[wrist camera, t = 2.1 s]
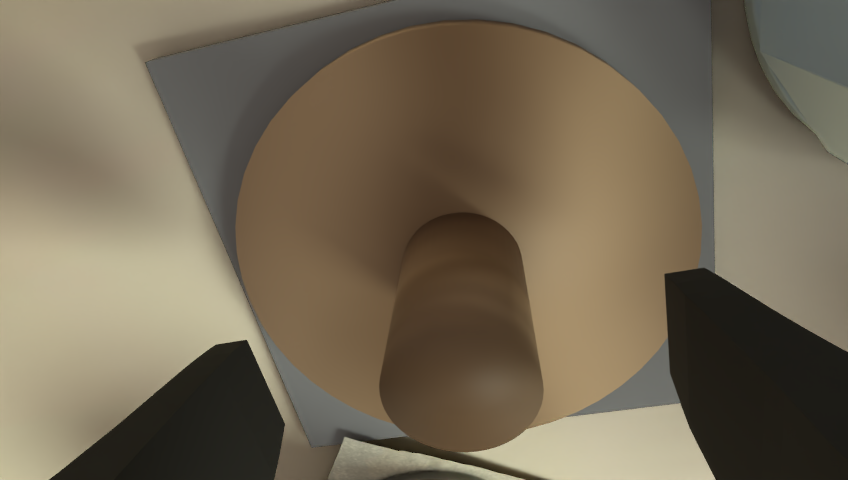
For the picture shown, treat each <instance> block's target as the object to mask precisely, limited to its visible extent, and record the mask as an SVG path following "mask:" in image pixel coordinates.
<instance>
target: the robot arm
mask: <svg viewBox="0 0 848 480" xmlns="http://www.w3.org/2000/svg"><path fill="white" fill-rule="evenodd" d="M664 278H665V296H666V313H667V331H668V348H669V366H670V375H671V378H672V380H673V383H674V386H675V389H676V392H677V395H678V397H679V400H680V403H681V406H682V408H683V411H684V414H685V416H686V419H687V422H688V424H689V427H690V429H691V431H692V433H693V435H694V437H695V439H696V441H697V443H698V445H699V447H700V449H701V451H702V453H703V455H704V457H705V459H706V461H707V463H708V465H709V467H710V469H711V471H712V473H713V475H714V477H715V479H716V480H848V352H846V351H844V350H843V349H841V348H839V347H837V346H835V345H833V344H832V343H830V342H828V341H826V340H824V339H823V338H821V337H819V336H817V335H815V334H814V333H812V332H810V331H808V330H807V329H805V328H803V327H801V326H800V325H798V324H796V323H795V322H793V321H791V320H790V319H788V318H786V317H784V316H783V315H781V314H779V313H778V312H776V311H774V310H773V309H771V308H769V307H768V306H766V305H765V304H763V303H761V302H760V301H758V300H757V299H755V298H753V297H752V296H750V295H748V294H747V293H745V292H744V291H742V290H740V289H739V288H737V287H736V286H734V285H732V284H731V283H729V282H728V281H726V280H725V279H723V278H721V277H720V276H718V275H716V274H715V273H713V272H711V271H710V270H708V269H706V268H698V269H691V270H685V271H679V272H672V273H666V274H664ZM284 426H285V423H284V421H283V419H282V417H281V415H280V412H279V410H278V408H277V406H276V403H275V401H274V399H273V397H272V395H271V392H270V390H269V388H268V386H267V383H266V381H265V379H264V377H263V375H262V372H261V370H260V368H259V366H258V364H257V361H256V359H255V357H254V355H253V352H252V350H251V348H250V346H249V344H248V341H247V340H243V341H237V342H230V343H224V344H218V345H215V346H213V347H212V348H210V349H209V350H208V351H206V352H205V353H203V354H202V355H201V356H200V357H198V358H197V359H196V360H194V361H193V362H192V363H191V364H189V365H188V366H187V367H186V368H185V369H183V370H182V371H181V372H180V373H179V374H177V375H176V376H175V377H174V378H173V379H171V380H170V381H169V382H168V383H167V384H166V385H164V386H163V387H162V388H161V389H160V390H159V391H157V392H156V393H155V394H154V395H153V396H151V397H150V398H149V399H148V400H147V401H146V402H144V403H143V404H142V405H141V406H140V407H139V408H137V409H136V410H135V411H134V412H133V413H131V414H130V415H129V416H128V417H127V418H126V419H124V420H123V421H122V422H121V423H120V424H118V425H117V426H116V427H115V428H114V429H112V430H111V431H110V432H109V433H107V434H106V435H105V436H104V437H102V438H101V439H100V440H99V441H97V442H96V443H95V444H94V445H92V446H91V447H90V448H89V449H87V450H86V451H85V452H84V453H82V454H81V455H80V456H79V457H77V458H76V459H75V460H74V461H72V462H71V463H70V464H69V465H67V466H66V467H65V468H64V469H62V470H61V471H60V472H59V473H57V474H56V475H55V476H53V477H52V478H51V479H49V480H274V478H275V473H276V468H277V464H278V459H279V454H280V449H281V443H282V437H283V432H284Z"/></svg>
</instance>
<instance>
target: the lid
mask: <svg viewBox="0 0 848 480" xmlns="http://www.w3.org/2000/svg"><path fill="white" fill-rule="evenodd" d="M235 230H236V247H237V256H238V261H239V266H240V271H241V276H242V280H243V283H244V286H245V288H246V291H247V294H248V297H249V300H250V302H251V304H252V306H253V308H254V310H255V312H256V314H257V316H258V318H259V320H260V322H261V324H262V326H263V327H264V329H265V330H266V332H267V333H268V334H269V336H270V337H271V339H272V340H273V342H274V343H275V345H276V346H277V347H278V348H279V349H280V351H281V352H282V353H283V354H284V355H285V356H286V357H287V359H288V360H289V361H290V362H291V363H292V364H293V365H294V366H295V367H296V368H297V369H298V370H299V371H300V372H302V373H303V374H304V375H305V376H306V377H307V378H308V379H309V380H310V381H312V382H313V383H314V384H316V385H317V386H319V387H320V388H321V389H323V390H324V391H326V392H327V393H328V394H330V395H331V396H333V397H334V398H336V399H338V400H340V401H342V402H343V403H345V404H347V405H349V406H350V407H352V408H354V409H356V410H359V411H361V412H363V413H365V414H368V415H370V416H372V417H374V418H377V419H380V420H383V421H386V422H389V423H392V424H395V425H396V426H397V427H398V428H399V429H400V430H401V431H402V432H404V433H405V434H406V435H408V436H409V437H411V438H412V439H414V440H416V441H418V442H420V443H422V444H425V445H427V446H430V447H433V448H436V449H441V450H445V451H453V452H474V451H481V450H487V449H490V448H494V447H497V446H500V445H502V444H505V443H507V442H509V441H511V440H512V439H514V438H516V437H517V436H518V435H520V434H521V433H522V432H524V431H525V430H526V429H528V428H532V427H536V426H539V425H543V424H546V423H550V422H553V421H556V420H558V419H561V418H563V417H566V416H568V415H571V414H574V413H576V412H578V411H580V410H582V409H584V408H586V407H588V406H590V405H591V404H593V403H595V402H597V401H599V400H601V399H602V398H604V397H605V396H607V395H608V394H610V393H611V392H613V391H614V390H616V389H617V388H619V387H620V386H621V385H623V384H624V383H625V382H626V381H627V380H629V379H630V378H631V377H632V376H633V375H634V374H636V373H637V372H638V371H639V370H640V369H641V368H642V367H643V366H644V365H645V364H646V363H647V362H648V361H649V360H650V359H651V358H652V356H653V355H654V354H655V353H656V352H657V351H658V350H659V348H660V347H661V346H662V344H663V343H664V342H665V340H666V339H667V337H668V331H667V313H666V296H665V278H664V274H666V273H672V272H679V271H685V270H691V269H698V264H699V259H700V255H701V238H702V220H701V210H700V201H699V195H698V191H697V188H696V184H695V180H694V177H693V173H692V169H691V167H690V165H689V162H688V160H687V158H686V156H685V154H684V151H683V149H682V147H681V145H680V142H679V141H678V139H677V137H676V136H675V134H674V133H673V131H672V130H671V128H670V127H669V125H668V124H667V122H666V121H665V119H664V118H663V116H662V115H661V114H660V113H659V111H658V110H657V109H656V108H655V107H654V106H653V105H652V104H651V103H650V101H649V100H648V99H647V98H646V97H645V96H644V95H643V94H642V93H641V92H640V90H638V89H637V88H636V87H635V86H634V85H633V84H632V83H631V82H630V81H628V80H627V79H626V78H625V77H624V76H622V75H621V74H620V73H619V72H617V71H616V70H615V69H614V68H613V67H611V66H610V65H609V64H608V63H606V62H605V61H604V60H602V59H600V58H599V57H597V56H595V55H594V54H592V53H590V52H588V51H587V50H585V49H583V48H582V47H580V46H578V45H577V44H574V43H572V42H569V41H567V40H565V39H562V38H560V37H557V36H555V35H552V34H550V33H548V32H545V31H541V30H537V29H533V28H529V27H525V26H522V25H518V24H514V23H506V22H497V21H488V20H479V19H476V20H443V21H437V22H431V23H426V24H420V25H414V26H409V27H406V28H403V29H400V30H396V31H393V32H390V33H387V34H384V35H380V36H378V37H376V38H374V39H372V40H369V41H367V42H365V43H363V44H361V45H359V46H357V47H355V48H353V49H351V50H349V51H347V52H346V53H344V54H343V55H341V56H340V57H338V58H337V59H335V60H334V61H332V62H331V63H329V64H328V65H326V66H325V67H323V68H322V69H321V70H320V71H319V72H318V73H317V74H315V75H314V76H313V77H312V78H311V79H310V80H309V81H308V82H306V83H305V84H304V85H303V86H302V87H301V88H300V89H299V90H298V91H297V92H296V93H294V94H293V95H292V96H291V97H290V98H289V100H288V101H287V102H286V103H285V104H284V106H283V107H282V108H281V109H280V110H279V112H278V113H277V114H276V115H275V116H274V118H273V119H272V120H271V121H270V123H269V125H268V126H267V128H266V130H265V131H264V133H263V135H262V136H261V138H260V140H259V141H258V143H257V145H256V146H255V148H254V151H253V153H252V156H251V158H250V161H249V163H248V165H247V168H246V170H245V173H244V177H243V181H242V185H241V189H240V193H239V197H238V203H237V214H236V225H235Z"/></svg>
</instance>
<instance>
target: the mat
mask: <svg viewBox="0 0 848 480" xmlns="http://www.w3.org/2000/svg"><path fill="white" fill-rule="evenodd" d="M476 19H479V20H488V21H497V22H506V23H514V24H518V25H522V26H525V27H529V28H533V29H537V30H541V31H545V32H548V33H550V34H552V35H555V36H557V37H560V38H562V39H565V40H567V41H569V42H572V43H574V44H577V45H578V46H580V47H582V48H583V49H585V50H587V51H588V52H590V53H592V54H594V55H595V56H597V57H599V58H600V59H602V60H604V61H605V62H606V63H608V64H609V65H610V66H611V67H613V68H614V69H615V70H616V71H617V72H619V73H620V74H621V75H622V76H624V77H625V78H626V79H627V80H628V81H630V82H631V83H632V84H633V85H634V86H635V87H636V88H637V89H638V90H640V92H641V93H642V94H643V95H644V96H645V97H646V98H647V99H648V100H649V101H650V103H651V104H652V105H653V106H654V107H655V108H656V109H657V110H658V111H659V113H660V114H661V115H662V116H663V118H664V119H665V121H666V122H667V124H668V125H669V127H670V128H671V130H672V131H673V133H674V134H675V136H676V137H677V139H678V141H679V142H680V145H681V147H682V149H683V151H684V154H685V156H686V158H687V160H688V162H689V165H690V167H691V169H692V173H693V177H694V180H695V184H696V188H697V191H698V195H699V201H700V210H701V220H702V238H701V255H700V259H699V264H698V268H706V269H708V270H710V271H711V272H713V273H715V255H714V181H713V108H712V35H711V0H391V1H387V2H383V3H379V4H375V5H371V6H367V7H363V8H359V9H355V10H351V11H346V12H342V13H338V14H334V15H330V16H326V17H322V18H318V19H314V20H310V21H306V22H302V23H298V24H294V25H290V26H286V27H282V28H277V29H273V30H269V31H265V32H261V33H257V34H253V35H249V36H245V37H241V38H237V39H233V40H229V41H225V42H221V43H217V44H212V45H208V46H204V47H200V48H196V49H192V50H188V51H184V52H180V53H176V54H172V55H168V56H164V57H160V58H156V59H153V60H150V61H148V62H145V63H146V66H147V68H148V70H149V73H150V75H151V77H152V80H153V82H154V84H155V87H156V89H157V91H158V93H159V96H160V98H161V100H162V103H163V105H164V107H165V110H166V112H167V114H168V117H169V119H170V121H171V124H172V126H173V128H174V130H175V133H176V135H177V137H178V140H179V142H180V144H181V147H182V149H183V151H184V154H185V156H186V158H187V161H188V163H189V165H190V167H191V170H192V172H193V174H194V177H195V179H196V181H197V184H198V186H199V188H200V191H201V193H202V195H203V198H204V200H205V202H206V204H207V207H208V209H209V211H210V214H211V216H212V218H213V221H214V223H215V225H216V228H217V230H218V232H219V235H220V237H221V239H222V241H223V244H224V246H225V248H226V251H227V253H228V255H229V258H230V260H231V262H232V265H233V267H234V269H235V272H236V274H237V276H238V278H239V281H240V283H241V285H242V288H243V290H244V292H245V295H246V297H247V299H248V302H249V304H250V306H251V309H252V311H253V313H254V315H255V318H256V320H257V322H258V325H259V327H260V329H261V332H262V334H263V336H264V339H265V341H266V343H267V346H268V348H269V350H270V352H271V355H272V357H273V359H274V362H275V364H276V366H277V369H278V371H279V373H280V376H281V378H282V380H283V383H284V385H285V387H286V389H287V392H288V394H289V396H290V399H291V401H292V403H293V406H294V408H295V410H296V413H297V415H298V417H299V420H300V422H301V424H302V426H303V429H304V431H305V433H306V436H307V438H308V440H309V443H310V445H311V447H312V448H313V447H322V446H330V445H338V444H342V443H343V440H344V438H345V437H347V438H351V439H354V440H357V441H361V442H363V441H371V440H379V439H388V438H396V437H404V436H408V435H406V434H405V433H404V432H402V431H401V430H400V429H399V428H398V427H397V426H396V425H395V424H392V423H389V422H386V421H383V420H380V419H377V418H374V417H372V416H370V415H368V414H365V413H363V412H361V411H359V410H356V409H354V408H352V407H350V406H349V405H347V404H345V403H343V402H342V401H340V400H338V399H336V398H334V397H333V396H331V395H330V394H328V393H327V392H326V391H324V390H323V389H321V388H320V387H319V386H317V385H316V384H314V383H313V382H312V381H310V380H309V379H308V378H307V377H306V376H305V375H304V374H303V373H302V372H300V371H299V370H298V369H297V368H296V367H295V366H294V365H293V364H292V363H291V362H290V361H289V360H288V359H287V357H286V356H285V355H284V354H283V353H282V352H281V351H280V349H279V348H278V347H277V346H276V345H275V343H274V342H273V340H272V339H271V337H270V336H269V334H268V333H267V332H266V330H265V329H264V327H263V326H262V324H261V322H260V320H259V318H258V316H257V314H256V312H255V310H254V308H253V306H252V304H251V302H250V300H249V297H248V294H247V291H246V288H245V286H244V283H243V280H242V276H241V271H240V266H239V261H238V256H237V247H236V230H235V225H236V214H237V203H238V197H239V193H240V189H241V185H242V181H243V177H244V173H245V170H246V168H247V165H248V163H249V161H250V158H251V156H252V153H253V151H254V148H255V146H256V145H257V143H258V141H259V140H260V138H261V136H262V135H263V133H264V131H265V130H266V128H267V126H268V125H269V123H270V121H271V120H272V119H273V118H274V116H275V115H276V114H277V113H278V112H279V110H280V109H281V108H282V107H283V106H284V104H285V103H286V102H287V101H288V100H289V98H290V97H291V96H292V95H293V94H294V93H296V92H297V91H298V90H299V89H300V88H301V87H302V86H303V85H304V84H305V83H306V82H308V81H309V80H310V79H311V78H312V77H313V76H314V75H315V74H317V73H318V72H319V71H320V70H321V69H322V68H323V67H325V66H326V65H328V64H329V63H331V62H332V61H334V60H335V59H337V58H338V57H340V56H341V55H343V54H344V53H346V52H347V51H349V50H351V49H353V48H355V47H357V46H359V45H361V44H363V43H365V42H367V41H369V40H372V39H374V38H376V37H378V36H380V35H384V34H387V33H390V32H393V31H396V30H400V29H403V28H406V27H409V26H414V25H420V24H426V23H431V22H437V21H443V20H476ZM677 403H680V400H679V397H678V395H677V392H676V389H675V386H674V383H673V380H672V378H671V375H670V366H669V348H668V337H667V339H666V340H665V342H664V343H663V344H662V346H661V347H660V348H659V350H658V351H657V352H656V353H655V354H654V355H653V356H652V358H651V359H650V360H649V361H648V362H647V363H646V364H645V365H644V366H643V367H642V368H641V369H640V370H639V371H638V372H637V373H636V374H634V375H633V376H632V377H631V378H630V379H629V380H627V381H626V382H625V383H624V384H623V385H621V386H620V387H619V388H617V389H616V390H614V391H613V392H611V393H610V394H608V395H607V396H605V397H604V398H602V399H601V400H599V401H597V402H595V403H593V404H591V405H590V406H588V407H586V408H584V409H582V410H580V411H578V412H576V413H574V414H571V415H568V416H566V417H570V416H578V415H586V414H594V413H603V412H611V411H619V410H627V409H636V408H644V407H652V406H661V405H669V404H677Z"/></svg>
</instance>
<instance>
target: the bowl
mask: <svg viewBox="0 0 848 480" xmlns="http://www.w3.org/2000/svg"><path fill="white" fill-rule="evenodd" d="M744 6H745V13H746V18H747V23H748V28H749V33H750V37H751V41H752V44H753V47H754V49H755V52H756V55H757V58H758V60H759V63H760V66H761V68H762V70H763V72H764V74H765V75H766V77H767V79H768V81H769V83H770V84H771V86H772V88H773V90H774V91H775V93H776V94H777V96H778V97H779V98H780V99H781V100H782V102H783V103H784V104H785V105H786V107H787V108H788V109H789V110H790V112H791V113H792V114H793V115H794V116H795V117H796V118H798V119H799V120H800V121H801V122H802V123H803V124H804V125H806V126H807V127H808V128H809V129H810V130H811V131H812V132H814V133H815V134H816V136H817V137H818V139H819V140H820V142H821V143H822V145H823V146H824V148H825V149H826V151H827V152H828V153H830V154H832V155H833V156H835V157H837V158H838V159H840V160H841V161H843V162H845V163H846V164H848V0H744Z"/></svg>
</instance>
